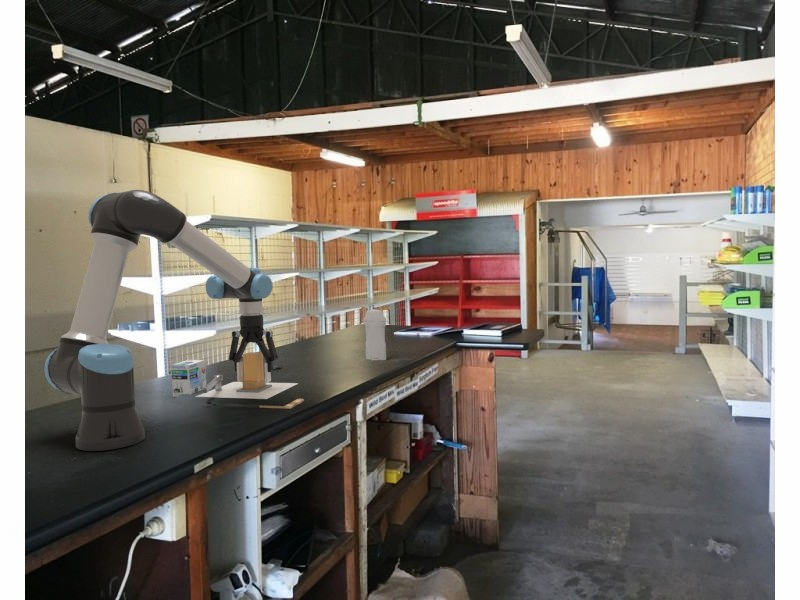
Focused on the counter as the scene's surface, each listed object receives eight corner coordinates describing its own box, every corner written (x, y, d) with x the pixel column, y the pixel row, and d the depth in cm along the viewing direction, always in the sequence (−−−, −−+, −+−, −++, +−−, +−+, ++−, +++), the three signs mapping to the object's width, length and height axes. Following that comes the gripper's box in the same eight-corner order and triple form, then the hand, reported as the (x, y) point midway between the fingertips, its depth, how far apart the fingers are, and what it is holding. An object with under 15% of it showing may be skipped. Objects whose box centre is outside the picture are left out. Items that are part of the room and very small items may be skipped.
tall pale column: (389, 359, 262) (387, 309, 260) (385, 360, 258) (383, 309, 256) (367, 358, 266) (365, 308, 264) (363, 360, 262) (361, 309, 261)
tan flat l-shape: (290, 408, 175) (290, 406, 175) (259, 407, 178) (259, 405, 178) (304, 400, 185) (304, 398, 185) (274, 399, 188) (274, 397, 188)
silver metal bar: (199, 393, 179) (199, 388, 179) (214, 379, 201) (214, 375, 201) (210, 393, 180) (209, 387, 179) (223, 379, 201) (223, 374, 201)
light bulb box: (190, 397, 195) (189, 364, 194) (171, 397, 196) (170, 364, 195) (207, 390, 205) (206, 359, 204) (189, 390, 206) (188, 359, 206)
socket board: (267, 402, 185) (266, 388, 185) (195, 399, 191) (194, 387, 191) (298, 386, 208) (298, 374, 208) (233, 384, 214) (233, 373, 214)
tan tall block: (256, 391, 196) (254, 355, 195) (242, 391, 197) (241, 354, 197) (265, 387, 203) (264, 351, 202) (253, 386, 204) (251, 351, 203)
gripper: (287, 313, 200) (289, 380, 201) (227, 313, 205) (230, 378, 206) (277, 315, 192) (279, 384, 194) (215, 315, 198) (218, 383, 199)
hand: (254, 381), depth 200 cm, fingers open, 9 cm apart
